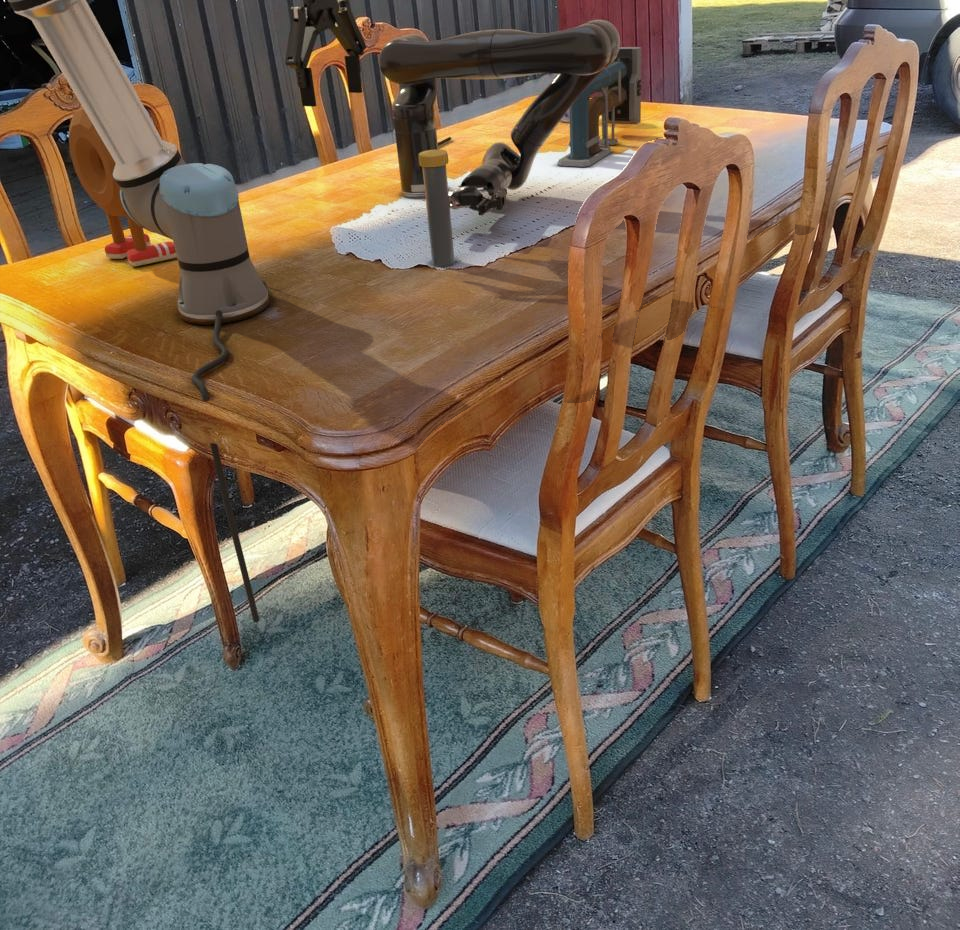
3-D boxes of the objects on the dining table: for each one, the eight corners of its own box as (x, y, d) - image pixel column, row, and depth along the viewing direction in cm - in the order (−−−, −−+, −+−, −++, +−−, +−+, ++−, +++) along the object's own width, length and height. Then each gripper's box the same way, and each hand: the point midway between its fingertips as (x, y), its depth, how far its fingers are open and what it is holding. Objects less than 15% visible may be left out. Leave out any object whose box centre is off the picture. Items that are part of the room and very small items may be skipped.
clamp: (588, 167, 230) (586, 71, 219) (554, 165, 234) (551, 71, 223) (640, 133, 256) (641, 47, 245) (609, 132, 260) (609, 47, 249)
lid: (454, 161, 170) (453, 150, 169) (438, 168, 166) (437, 157, 165) (429, 159, 172) (428, 148, 172) (413, 166, 169) (412, 155, 168)
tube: (458, 260, 179) (449, 153, 169) (447, 267, 176) (436, 159, 166) (439, 258, 181) (429, 152, 171) (428, 265, 178) (416, 157, 168)
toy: (191, 258, 192) (154, 99, 176) (145, 273, 186) (103, 110, 170) (136, 241, 205) (97, 91, 189) (92, 254, 199) (48, 101, 183)
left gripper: (284, -22, 160) (304, 112, 170) (375, -35, 178) (388, 87, 188) (251, -21, 163) (273, 111, 174) (343, -34, 181) (358, 86, 192)
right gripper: (449, 167, 197) (421, 189, 184) (516, 168, 193) (493, 190, 179) (452, 204, 201) (425, 228, 187) (518, 205, 196) (495, 230, 183)
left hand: (333, 99), depth 181 cm, fingers open, 13 cm apart
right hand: (458, 209), depth 183 cm, fingers open, 8 cm apart
